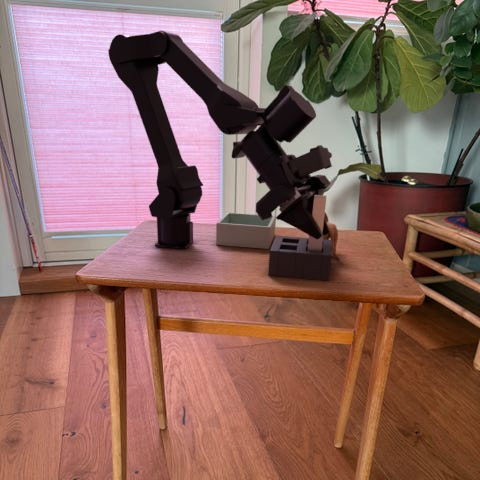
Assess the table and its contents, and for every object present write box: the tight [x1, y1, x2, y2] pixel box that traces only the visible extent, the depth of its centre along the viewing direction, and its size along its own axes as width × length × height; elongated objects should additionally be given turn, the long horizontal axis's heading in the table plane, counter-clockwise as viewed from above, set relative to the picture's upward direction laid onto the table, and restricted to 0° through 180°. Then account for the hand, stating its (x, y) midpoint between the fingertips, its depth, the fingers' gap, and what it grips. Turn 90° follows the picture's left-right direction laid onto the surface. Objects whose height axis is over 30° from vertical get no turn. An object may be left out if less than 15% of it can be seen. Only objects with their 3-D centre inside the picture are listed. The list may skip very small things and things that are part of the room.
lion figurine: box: [323, 212, 341, 262], centre depth 91 cm, size 15×5×9 cm, turn 19°
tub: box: [215, 212, 277, 250], centre depth 99 cm, size 11×11×5 cm
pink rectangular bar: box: [307, 194, 327, 252], centre depth 78 cm, size 2×3×13 cm
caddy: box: [267, 235, 333, 282], centre depth 82 cm, size 10×10×4 cm
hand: (323, 235), depth 77 cm, fingers closed on pink rectangular bar, 3 cm apart
